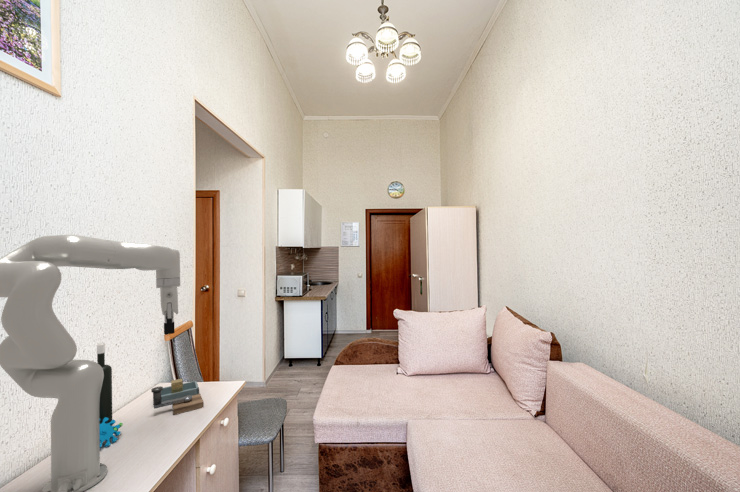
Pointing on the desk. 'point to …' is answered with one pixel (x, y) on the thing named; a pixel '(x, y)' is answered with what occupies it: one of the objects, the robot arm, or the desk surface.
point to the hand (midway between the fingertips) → (169, 333)
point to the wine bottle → (105, 386)
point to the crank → (158, 403)
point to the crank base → (188, 405)
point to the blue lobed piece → (108, 431)
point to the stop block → (176, 386)
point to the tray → (188, 389)
